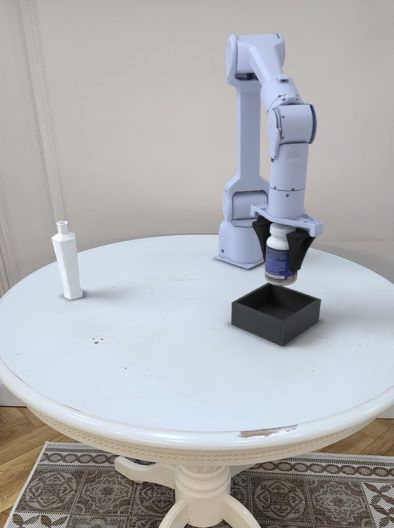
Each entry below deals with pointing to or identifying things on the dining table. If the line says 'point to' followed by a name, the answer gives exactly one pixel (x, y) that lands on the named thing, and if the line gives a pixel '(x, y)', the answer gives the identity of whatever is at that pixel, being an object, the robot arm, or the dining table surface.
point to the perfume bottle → (67, 260)
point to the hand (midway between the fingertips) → (281, 265)
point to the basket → (275, 313)
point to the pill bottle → (278, 257)
